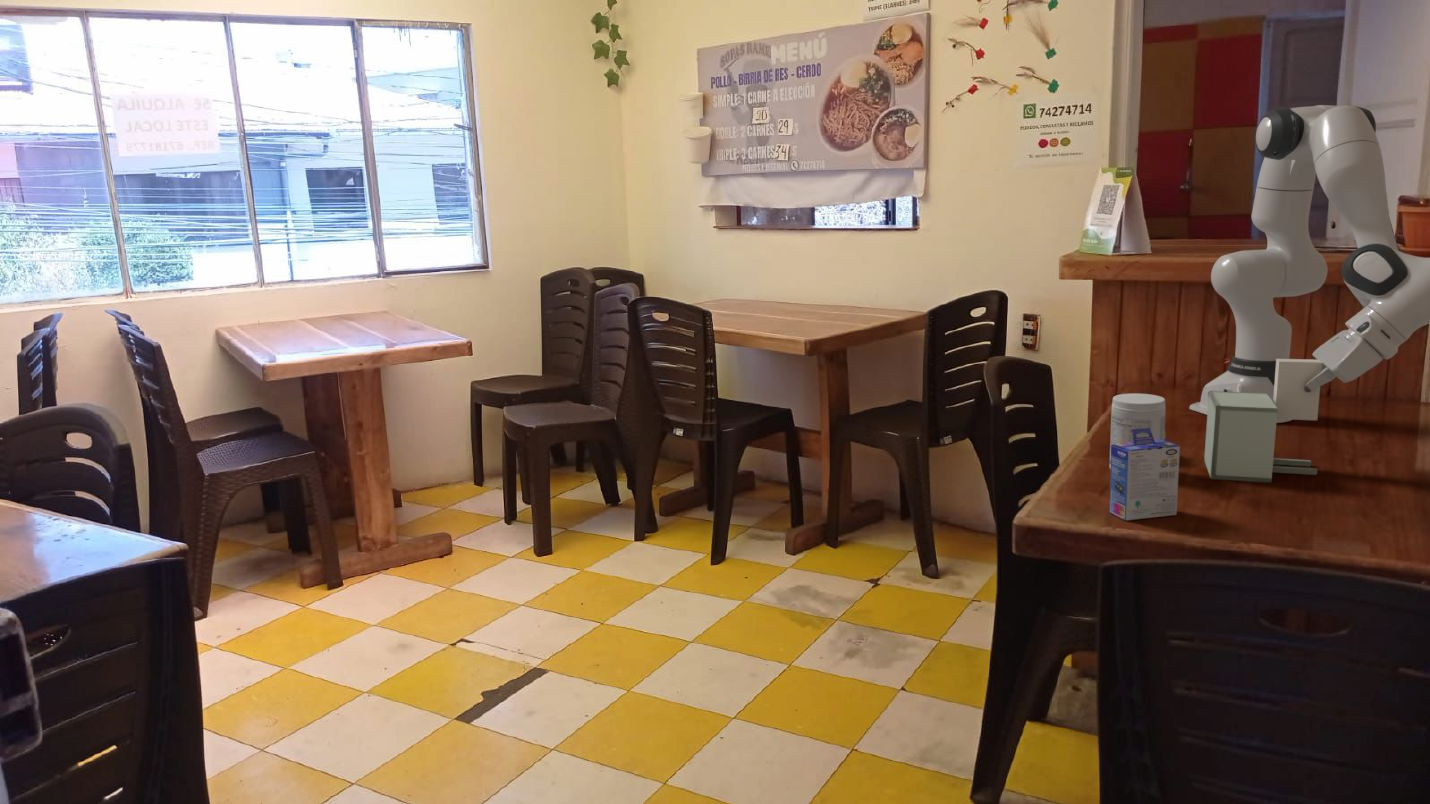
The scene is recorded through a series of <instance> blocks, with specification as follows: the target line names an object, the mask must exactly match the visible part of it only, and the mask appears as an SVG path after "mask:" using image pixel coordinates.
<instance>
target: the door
mask: <svg viewBox="0 0 1430 804" xmlns="http://www.w3.org/2000/svg"><path fill="white" fill-rule="evenodd" d="M1321 371H1322V362H1321V361H1320V360H1317V359H1311V358H1310V359H1307V358H1305V359H1304V358H1303V359H1301V358H1299V359H1298V358H1290V359H1276V370H1275V383H1274V396H1273V403H1274V404H1275V405H1276V407H1277V408H1278V410H1277V419H1292V420H1294V421H1295V420H1299V421H1318V417H1319V416H1318V415H1319V404H1320V394H1321V393H1320V392H1321V386H1320V387H1319V388H1317V389H1316V390H1315V391H1311V390H1310V389H1309V388H1308V387H1307V386H1306V384H1305V383H1306V382H1307V381H1309V380H1310V379H1311V378H1312V377H1313V378H1314V377H1315V376H1317V375H1318V374H1320V373H1321ZM1292 420H1291V421H1292Z"/></svg>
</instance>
